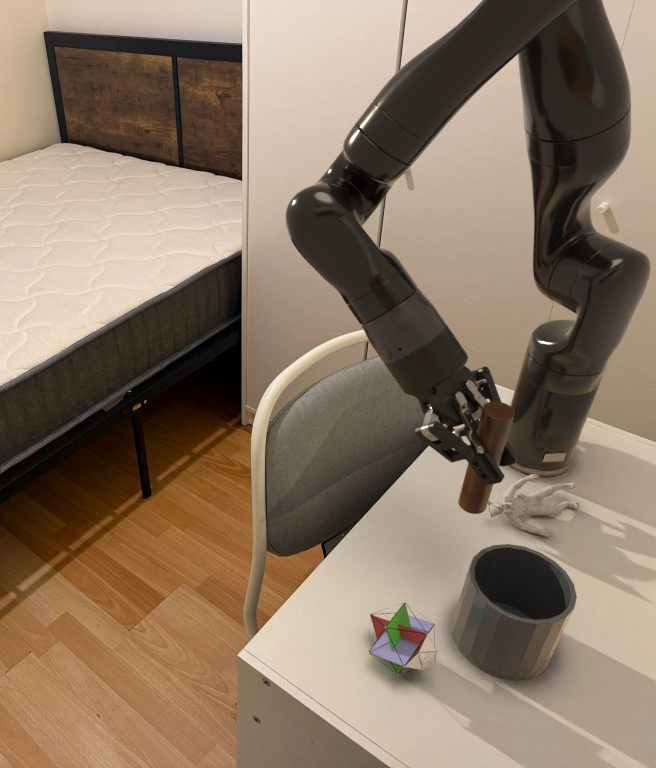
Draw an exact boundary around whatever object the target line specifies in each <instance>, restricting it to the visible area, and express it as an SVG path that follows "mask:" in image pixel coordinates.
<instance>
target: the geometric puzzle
mask: <svg viewBox="0 0 656 768" xmlns="http://www.w3.org/2000/svg"><path fill="white" fill-rule="evenodd" d="M401 604H402V605H401ZM400 605H401V606H400ZM397 606H400V608H399V609H398V610H397V611H396V612H395V613H394V615H393V616H392V618H391V619H390V620H388V619H385V618H382V617H379V616H377V615H375V614H377V613H378V612H381V611H383V610H384V611H385V610H388V609H389V607H387V608H384V609H382V610H379V611H375V612H373V613H369V617H370V621H371V623H372V627H373V631H374V634H375V637H376V640H375V642H374V643H373V645H372V646H371V648H369V650H368V652H367V653H368V655H371V656H373V657H375V659H376V660H378V658H380V659H383V660H386V661H388V662H389V663H390V664H391V666H392V667H393V669H394V670H395V671H394V673H395V674H397V676H399V675H402V674H405V673H409V672H410V670H409V671H406V672H402V671H403V670H404V669H405V668H408V669H413V670H411V672H412V671H417V670H420V671H424V670H426V669H428V668H431V666H433V665H436V659H437V650H436V646H435V644H436V634H435V633H436V629H435V628H436V626H435V625H436V623H433V622H431V620H429V619H428V620H424V619H422V618H418V617H416V615H415V614H414V613H413V611H412V610H411V609H410V606H409V604H408V603H407V602H406V601H403V602H401V603H399V604H397ZM407 608H408V609H409V611H410V612H411V613H412V615H413V616H411V615H409V612H408V609H407ZM412 609H414V610H415V608H413V607H412ZM416 612H418V613H419V611H418V610H416ZM387 614H391V612H384V613H380V615H387ZM420 615H422V616H423V614H422V613H420ZM424 618H425V619H427V617H426V616H424ZM433 628H434V633H433V634H434V642H433V641H432V640H431V637H430V636H429V633H430V632H431V631H432V630H433ZM368 636H369V637H368V638H370V636H371V635H370V630H369V635H368ZM433 643H434V644H433ZM377 657H378V658H377ZM379 661H380V662H381V663H382V661H381V660H379ZM393 664H395V666H394V665H393ZM383 665H384V666H386V667H387V668H389V667H388V665H386V664H385V663H383ZM393 669H392V668H390V670H392V671H393Z"/></svg>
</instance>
